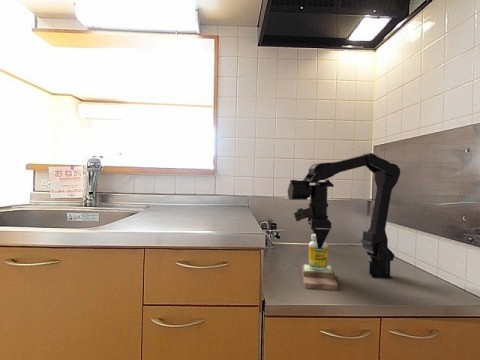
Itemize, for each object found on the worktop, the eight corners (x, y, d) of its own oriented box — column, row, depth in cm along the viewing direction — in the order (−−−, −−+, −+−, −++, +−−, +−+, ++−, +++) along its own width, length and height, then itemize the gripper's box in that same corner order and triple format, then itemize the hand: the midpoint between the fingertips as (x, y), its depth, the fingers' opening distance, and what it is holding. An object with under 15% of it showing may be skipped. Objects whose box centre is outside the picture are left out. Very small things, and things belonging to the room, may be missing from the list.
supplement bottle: (322, 265, 118) (322, 233, 118) (331, 270, 112) (331, 236, 112) (305, 266, 117) (305, 233, 117) (313, 271, 110) (313, 236, 110)
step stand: (330, 274, 118) (330, 265, 118) (337, 289, 102) (338, 279, 102) (302, 273, 119) (302, 264, 119) (304, 287, 104) (304, 277, 103)
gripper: (294, 197, 124) (293, 239, 124) (295, 201, 106) (295, 250, 106) (324, 198, 123) (324, 240, 123) (331, 202, 104) (331, 252, 104)
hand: (318, 245), depth 114 cm, fingers open, 9 cm apart
